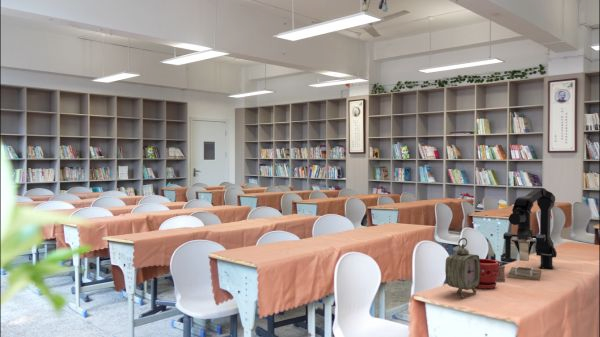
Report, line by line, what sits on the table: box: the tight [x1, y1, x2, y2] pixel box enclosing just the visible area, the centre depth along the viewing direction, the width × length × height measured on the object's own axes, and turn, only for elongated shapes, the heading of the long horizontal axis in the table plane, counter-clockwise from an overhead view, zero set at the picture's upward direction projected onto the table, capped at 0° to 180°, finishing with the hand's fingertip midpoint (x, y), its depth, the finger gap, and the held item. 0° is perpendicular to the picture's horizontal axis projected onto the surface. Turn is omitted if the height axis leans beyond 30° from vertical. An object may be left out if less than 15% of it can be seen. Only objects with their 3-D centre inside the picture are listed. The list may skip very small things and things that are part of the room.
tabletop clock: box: [444, 237, 481, 299], centre depth 213 cm, size 14×9×25 cm, turn 131°
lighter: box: [488, 259, 506, 283], centre depth 234 cm, size 8×3×10 cm, turn 84°
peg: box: [518, 240, 530, 262], centre depth 243 cm, size 4×4×9 cm
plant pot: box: [475, 258, 500, 289], centre depth 226 cm, size 13×13×12 cm
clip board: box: [507, 266, 542, 282], centre depth 246 cm, size 20×14×4 cm
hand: (524, 253), depth 243 cm, fingers closed on peg, 4 cm apart
